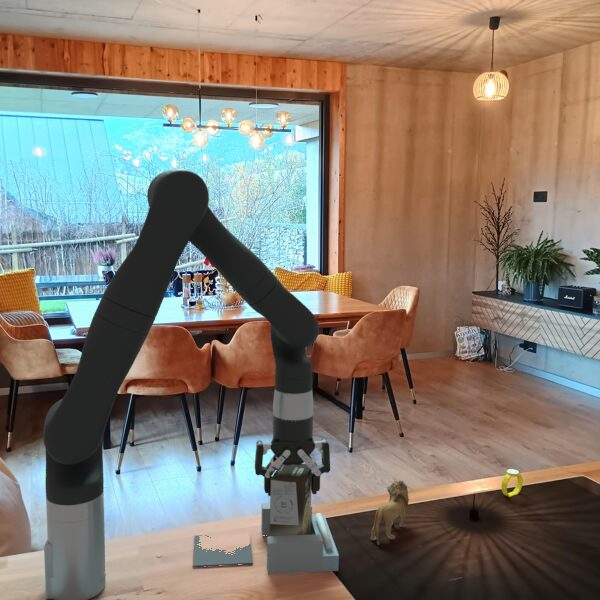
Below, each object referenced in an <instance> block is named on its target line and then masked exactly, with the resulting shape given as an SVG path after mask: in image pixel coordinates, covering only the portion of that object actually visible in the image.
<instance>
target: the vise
mask: <svg viewBox="0 0 600 600" xmlns="http://www.w3.org/2000/svg"><path fill="white" fill-rule="evenodd" d="M260 526H261V531H262V532H261V536H262V535H265V536H266V535H267V536H268V537H266V541H267V542H266V570H267V575H284V574H286V575H287V574H303V573H318V572H319V573H321V572H322V573H323V572H339V567H340V566H339V565H340V564H339V563H340V562H339V561H340V560H339V559H340V555H339V551H338V549H337V547H336V544H335V541H334V538H333V536H332V533H331V530H330V528H329V524H328V521H327V519H326V516H325V514H322V513H320V512H318V513H315V514H313V506H312V504H311V517H310V535H290V536H270V502H262V503H261V524H260Z"/></svg>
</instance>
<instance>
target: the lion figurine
mask: <svg viewBox="0 0 600 600" xmlns="http://www.w3.org/2000/svg"><path fill="white" fill-rule="evenodd" d="M386 488H387V489H386V490H387V493H388V494H389V501H388V502H387V503H385V504H382V505H379V506H378V507H377V509H376V511H375V515H374V523H373V527H372V529H371V534H370V540H371V541H375V540H377V541H376V544H377V545H378V546H379V545H380V544H381V538H380V532H379V531H380V523H381V522H382V521H383V524H384V525H385V528H386V531H385V534H386V535H387V537H388V539H390V540H395V539H396V536H395V535H394V534H392V533H391V532H392V527H393V524H394V520H395V519H397V518H398V517H399V519H400V520H399V526H400V527H401V528H405V527H406V524H405V520H406V510H407V508H409V502H410V500H409V491H408V490H409V489H408V486H407V484H406V482H404V480H401V479H394V480H393V482H391V485H388V486H387V487H386Z"/></svg>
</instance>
